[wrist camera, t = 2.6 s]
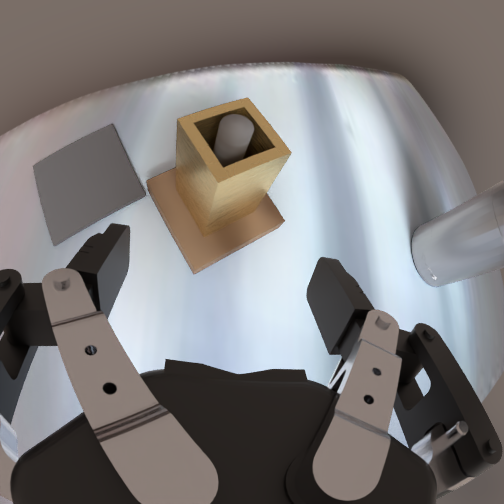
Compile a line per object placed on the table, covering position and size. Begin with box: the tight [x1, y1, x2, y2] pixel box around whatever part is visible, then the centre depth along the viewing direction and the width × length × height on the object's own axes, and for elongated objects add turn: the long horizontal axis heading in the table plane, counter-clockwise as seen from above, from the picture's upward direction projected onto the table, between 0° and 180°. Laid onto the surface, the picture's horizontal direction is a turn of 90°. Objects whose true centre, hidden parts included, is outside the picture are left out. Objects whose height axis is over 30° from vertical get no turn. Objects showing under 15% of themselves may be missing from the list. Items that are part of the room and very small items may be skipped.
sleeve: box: [176, 98, 291, 237], centre depth 22 cm, size 6×6×10 cm
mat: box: [33, 124, 145, 246], centre depth 26 cm, size 11×11×1 cm
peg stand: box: [146, 114, 285, 274], centre depth 23 cm, size 10×10×13 cm
